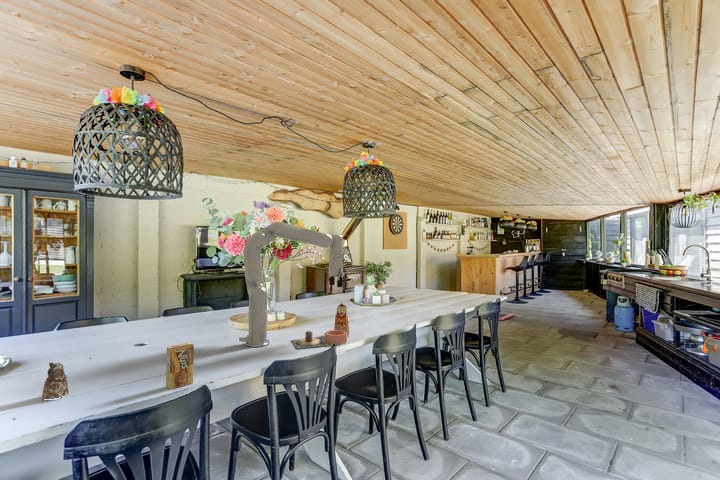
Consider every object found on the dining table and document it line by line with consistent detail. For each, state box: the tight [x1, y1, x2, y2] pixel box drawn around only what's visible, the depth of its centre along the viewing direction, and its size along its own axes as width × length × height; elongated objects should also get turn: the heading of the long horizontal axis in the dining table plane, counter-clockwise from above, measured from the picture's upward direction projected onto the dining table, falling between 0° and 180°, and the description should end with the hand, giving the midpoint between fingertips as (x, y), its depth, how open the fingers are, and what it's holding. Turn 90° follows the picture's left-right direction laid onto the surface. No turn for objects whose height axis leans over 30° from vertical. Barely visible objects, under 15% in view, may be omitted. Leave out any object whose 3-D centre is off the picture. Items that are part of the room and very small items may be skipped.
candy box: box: [165, 342, 195, 390], centre depth 144 cm, size 9×4×15 cm, turn 137°
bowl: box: [323, 329, 348, 346], centre depth 207 cm, size 12×12×5 cm
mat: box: [290, 337, 328, 350], centre depth 202 cm, size 16×16×1 cm
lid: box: [296, 330, 322, 346], centre depth 202 cm, size 13×13×6 cm
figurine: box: [41, 361, 69, 400], centre depth 132 cm, size 7×7×12 cm
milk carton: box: [333, 301, 350, 338], centre depth 223 cm, size 9×9×20 cm
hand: (335, 285), depth 215 cm, fingers open, 9 cm apart
